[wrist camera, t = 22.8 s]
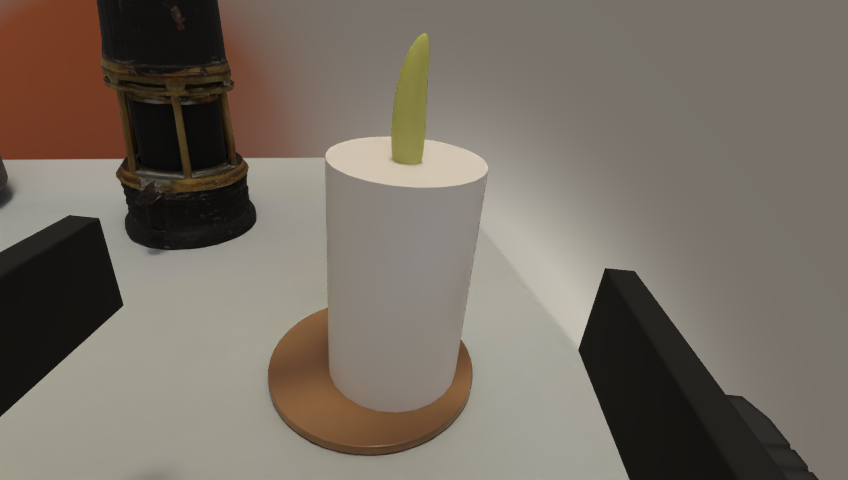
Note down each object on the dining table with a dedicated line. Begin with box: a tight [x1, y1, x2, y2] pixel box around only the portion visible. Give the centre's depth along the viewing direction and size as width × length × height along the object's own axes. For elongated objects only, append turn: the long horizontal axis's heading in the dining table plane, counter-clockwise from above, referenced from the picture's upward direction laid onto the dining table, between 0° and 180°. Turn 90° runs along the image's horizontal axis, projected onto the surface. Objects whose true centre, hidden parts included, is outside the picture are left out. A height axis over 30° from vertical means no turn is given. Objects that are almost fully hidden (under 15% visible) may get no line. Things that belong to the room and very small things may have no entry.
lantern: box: [97, 0, 256, 249], centre depth 27 cm, size 9×9×30 cm
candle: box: [325, 33, 488, 413], centre depth 18 cm, size 6×6×15 cm
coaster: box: [268, 308, 472, 455], centre depth 22 cm, size 10×10×1 cm
